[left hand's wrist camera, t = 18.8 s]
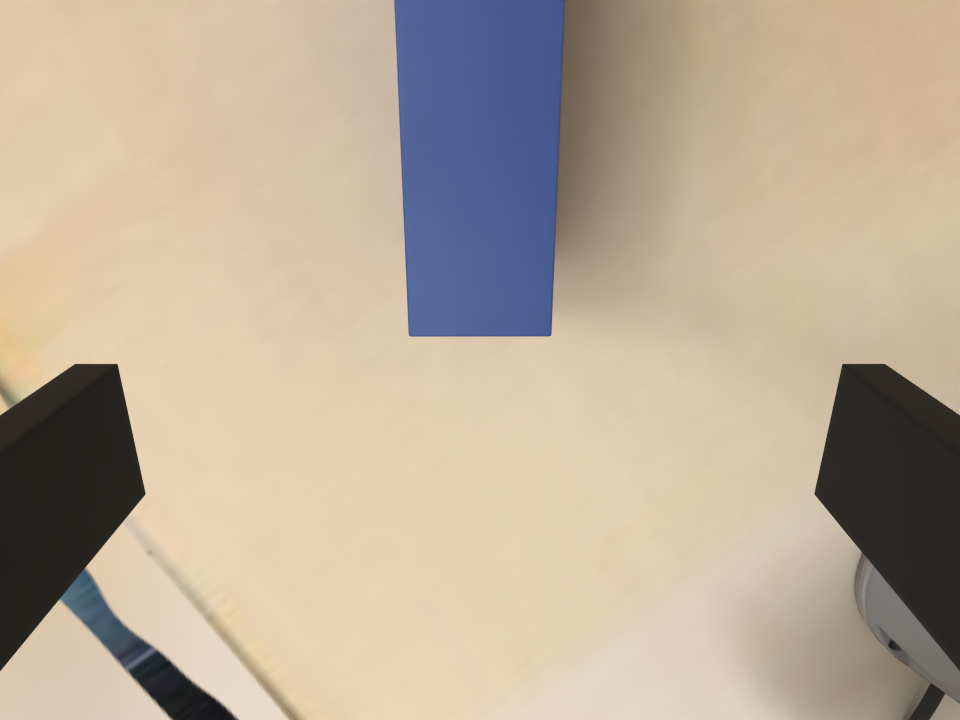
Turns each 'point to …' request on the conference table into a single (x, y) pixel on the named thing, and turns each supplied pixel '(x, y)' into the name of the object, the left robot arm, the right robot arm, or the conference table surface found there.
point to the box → (479, 162)
